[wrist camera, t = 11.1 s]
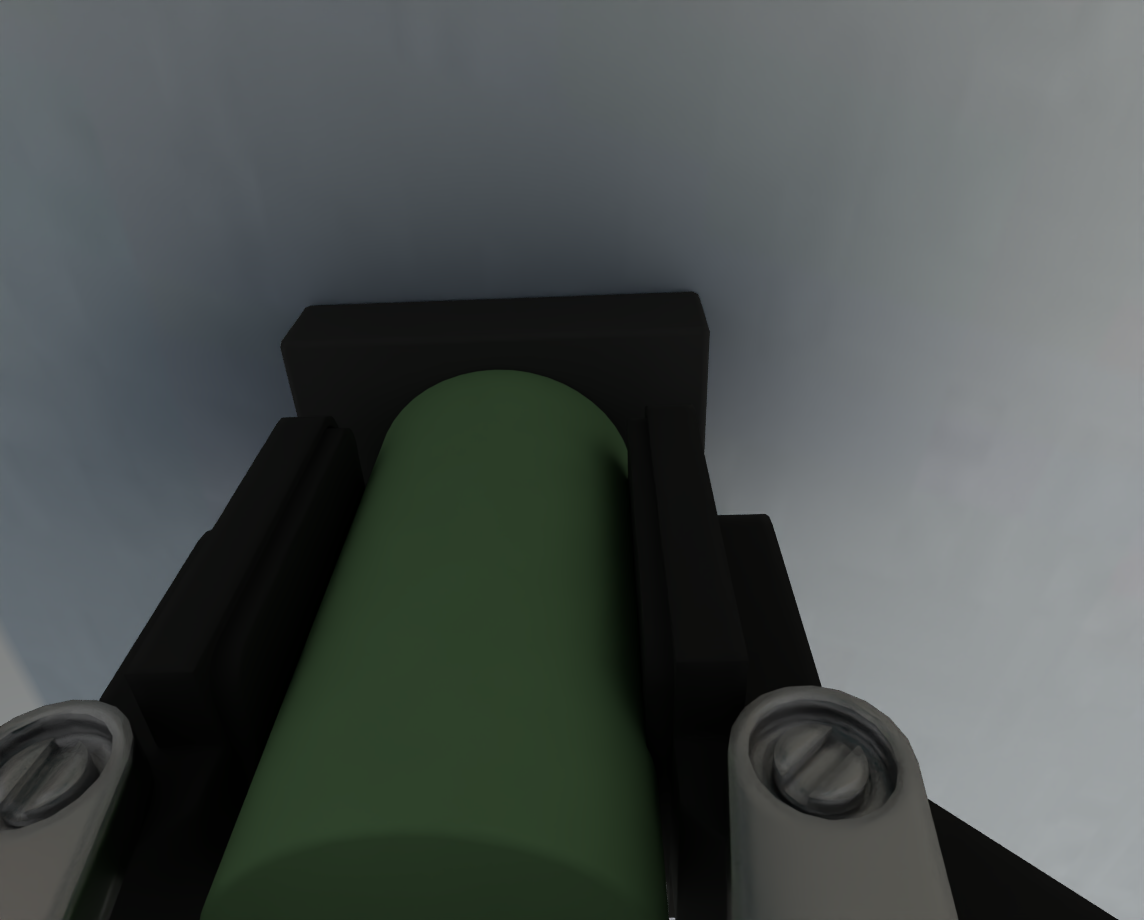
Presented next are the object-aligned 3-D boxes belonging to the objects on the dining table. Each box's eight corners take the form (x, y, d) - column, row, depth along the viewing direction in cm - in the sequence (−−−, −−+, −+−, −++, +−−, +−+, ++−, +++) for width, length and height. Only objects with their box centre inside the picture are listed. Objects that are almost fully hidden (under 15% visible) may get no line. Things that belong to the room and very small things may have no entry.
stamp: (360, 550, 13) (162, 1104, 7) (304, 302, 11) (-54, 793, 5) (690, 541, 13) (782, 1104, 7) (699, 289, 11) (848, 778, 5)
